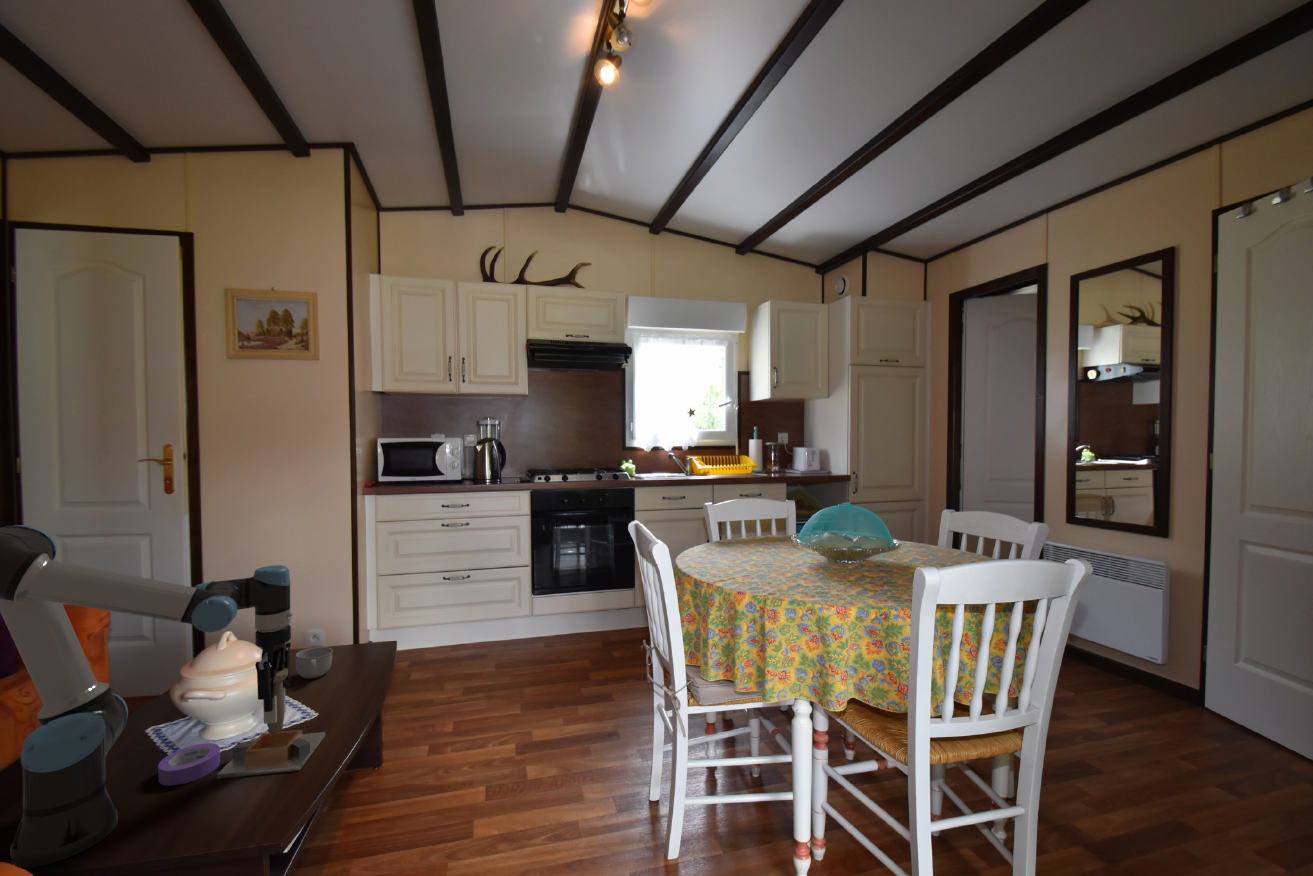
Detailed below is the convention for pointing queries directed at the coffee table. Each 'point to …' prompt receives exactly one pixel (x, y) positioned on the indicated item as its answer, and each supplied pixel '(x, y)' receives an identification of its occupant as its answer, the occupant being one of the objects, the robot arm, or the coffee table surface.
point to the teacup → (313, 662)
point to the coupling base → (271, 754)
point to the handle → (278, 702)
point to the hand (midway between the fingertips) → (274, 717)
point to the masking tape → (189, 764)
